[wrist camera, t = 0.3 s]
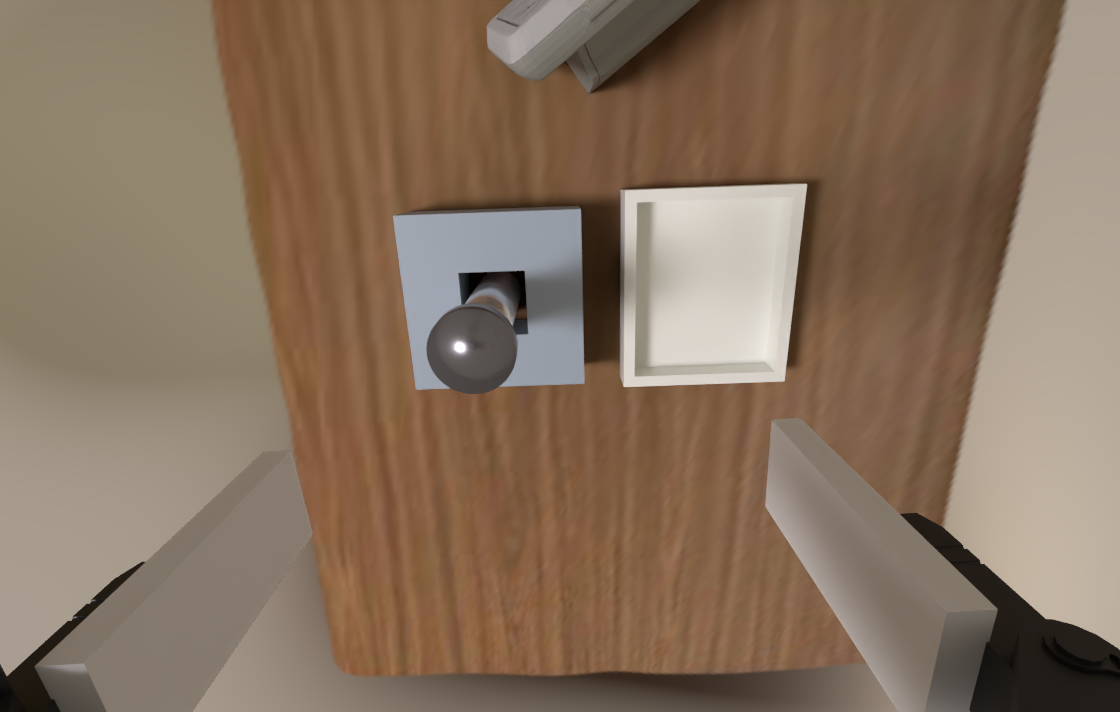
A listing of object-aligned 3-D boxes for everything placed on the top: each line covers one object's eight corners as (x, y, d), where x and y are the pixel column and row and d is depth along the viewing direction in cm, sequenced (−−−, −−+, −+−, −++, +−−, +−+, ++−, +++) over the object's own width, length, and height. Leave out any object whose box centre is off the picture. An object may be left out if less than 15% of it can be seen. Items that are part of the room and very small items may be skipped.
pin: (467, 263, 38) (421, 310, 25) (527, 261, 38) (513, 307, 25) (472, 321, 40) (431, 395, 26) (530, 319, 40) (519, 392, 26)
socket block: (409, 211, 37) (392, 215, 33) (578, 205, 37) (580, 209, 33) (428, 369, 41) (416, 389, 37) (581, 364, 41) (584, 383, 37)
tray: (620, 189, 37) (625, 190, 34) (790, 183, 37) (807, 183, 34) (619, 374, 41) (623, 386, 39) (771, 369, 41) (784, 381, 39)
